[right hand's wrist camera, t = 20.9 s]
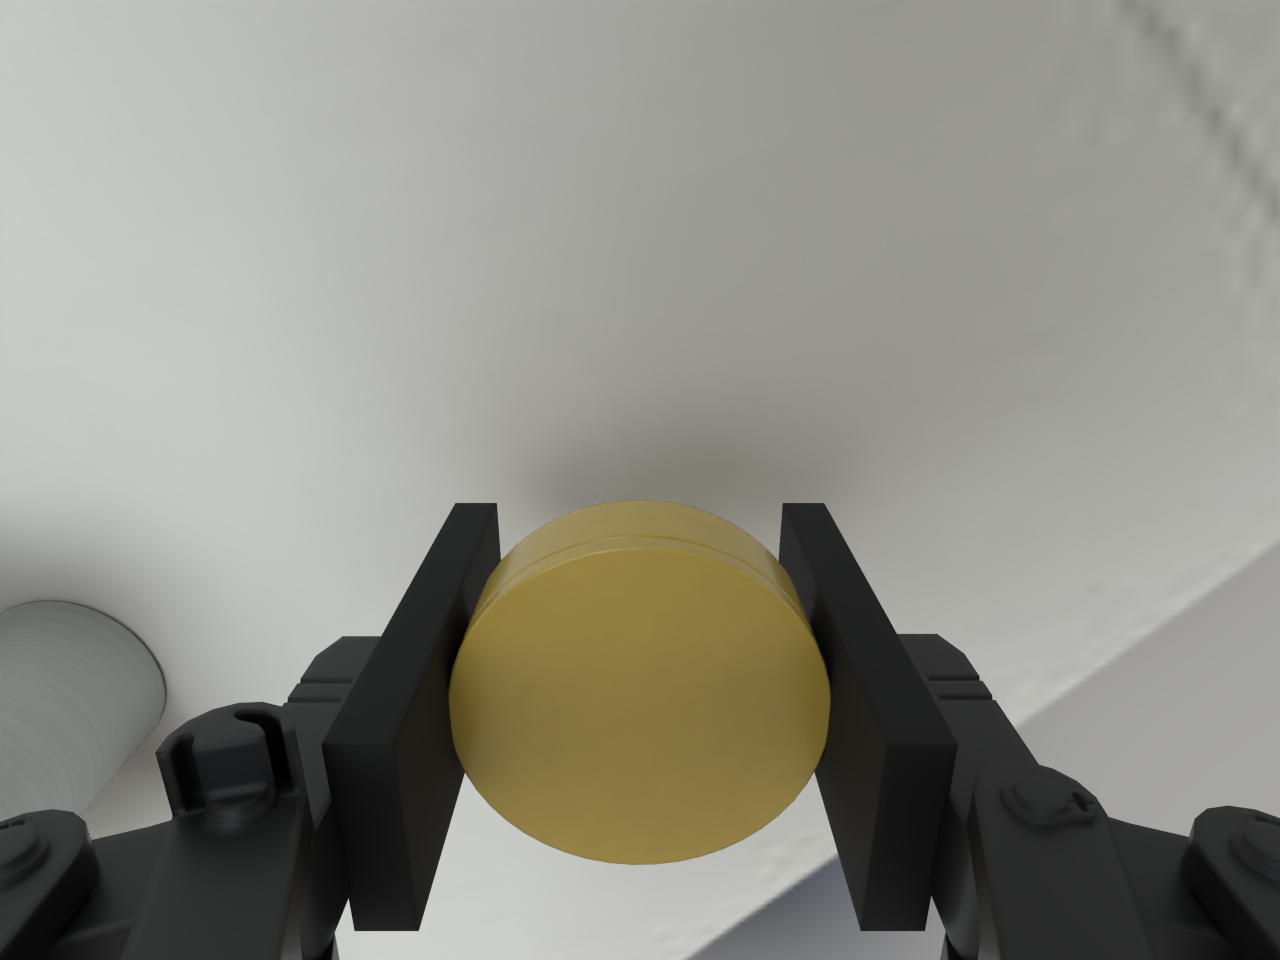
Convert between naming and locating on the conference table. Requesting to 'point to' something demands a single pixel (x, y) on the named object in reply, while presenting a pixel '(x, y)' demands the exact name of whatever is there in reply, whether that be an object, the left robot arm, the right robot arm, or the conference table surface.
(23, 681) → the grey metal canister
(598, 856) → the lid
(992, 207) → the conference table surface
